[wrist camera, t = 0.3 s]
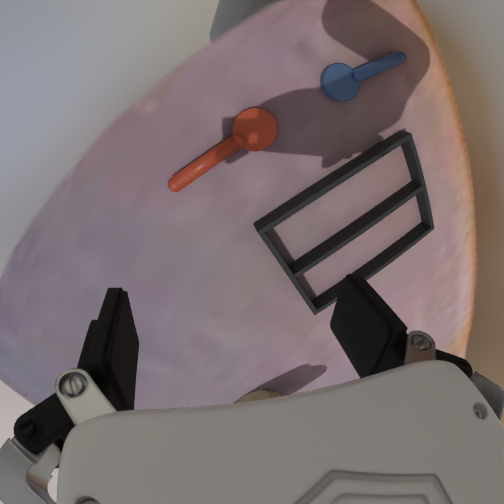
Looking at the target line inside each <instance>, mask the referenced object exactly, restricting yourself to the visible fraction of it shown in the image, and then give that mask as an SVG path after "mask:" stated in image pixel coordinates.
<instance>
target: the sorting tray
mask: <svg viewBox="0 0 504 504" xmlns="http://www.w3.org/2000/svg"><path fill="white" fill-rule="evenodd" d="M400 145H401V146H402V149H403V153H404V156H405V159H406V162H407V165H408V169H409V172H410V176H411V179H412V181H411V182H409V183H408V184H407V185H405V186H404V187H402V188H401V189H400V190H398V191H397V192H395V193H394V194H393V195H391V196H390V197H388V198H387V199H385V200H384V201H383V202H381V203H380V204H378V205H377V206H375V207H374V208H373V209H371V210H370V211H368V212H367V213H365V214H364V215H362V216H361V217H359V218H358V219H357V220H355V221H354V222H352V223H351V224H349V225H348V226H346V227H345V228H343V229H342V230H340V231H339V232H337V233H336V234H334V235H333V236H332V237H330V238H329V239H327V240H326V241H324V242H323V243H321V244H320V245H318V246H317V247H315V248H314V249H312V250H311V251H309V252H308V253H306V254H304V255H303V256H301V257H300V258H298V259H297V260H295V261H294V262H292V263H291V264H289V265H287V263H286V262H285V260H284V259H283V257H282V256H281V254H280V253H279V251H278V250H277V248H276V247H275V245H274V244H273V242H272V241H271V239H270V238H269V236H268V235H267V233H266V232H267V231H269V230H270V229H272V228H273V227H275V226H276V225H278V224H279V223H281V222H282V221H284V220H286V219H287V218H289V217H290V216H292V215H293V214H295V213H296V212H298V211H299V210H301V209H302V208H304V207H305V206H307V205H308V204H310V203H312V202H313V201H315V200H316V199H318V198H319V197H321V196H322V195H324V194H325V193H327V192H328V191H330V190H332V189H333V188H335V187H336V186H338V185H339V184H341V183H342V182H344V181H345V180H347V179H349V178H350V177H352V176H353V175H355V174H356V173H358V172H359V171H361V170H362V169H364V168H366V167H367V166H369V165H370V164H372V163H373V162H375V161H376V160H378V159H380V158H381V157H383V156H384V155H386V154H387V153H389V152H391V151H392V150H394V149H395V148H397V147H398V146H400ZM415 195H416V198H417V202H418V206H419V211H420V215H421V220H422V222H421V223H420V224H418V225H417V226H416V227H414V228H413V229H412V230H411V231H409V232H408V233H407V234H405V235H404V236H403V237H401V238H400V239H399V240H397V241H396V242H395V243H393V244H392V245H391V246H389V247H388V248H387V249H385V250H384V251H383V252H381V253H380V254H379V255H377V256H376V257H374V258H373V259H372V260H370V261H369V262H367V263H366V264H365V265H363V266H362V267H360V268H359V269H357V270H356V271H355V272H353V273H352V274H360V275H361V276H362V277H363V278H364V279H365V280H368V279H369V278H371V277H372V276H373V275H375V274H376V273H378V272H379V271H380V270H382V269H383V268H384V267H386V266H387V265H388V264H390V263H391V262H393V261H394V260H395V259H396V258H398V257H399V256H400V255H402V254H403V253H404V252H406V251H407V250H408V249H410V248H411V247H412V246H413V245H415V244H416V243H417V242H418V241H420V240H421V239H422V238H423V237H425V236H426V235H427V234H428V233H430V232H431V231H432V230H433V229H434V224H433V218H432V213H431V208H430V203H429V198H428V193H427V189H426V184H425V180H424V176H423V172H422V169H421V165H420V161H419V158H418V154H417V151H416V147H415V144H414V141H413V138H412V135H411V133H409V132H404V131H398V132H396V133H395V134H393V135H391V136H390V137H388V138H387V139H385V140H383V141H382V142H380V143H378V144H377V145H375V146H373V147H372V148H370V149H369V150H367V151H365V152H364V153H362V154H361V155H359V156H357V157H356V158H354V159H353V160H351V161H349V162H348V163H346V164H345V165H343V166H341V167H340V168H338V169H337V170H335V171H333V172H332V173H330V174H329V175H327V176H326V177H324V178H322V179H321V180H319V181H318V182H316V183H315V184H313V185H311V186H310V187H308V188H307V189H305V190H304V191H302V192H301V193H299V194H298V195H296V196H294V197H293V198H291V199H290V200H288V201H287V202H285V203H284V204H282V205H281V206H279V207H278V208H276V209H274V210H273V211H271V212H270V213H268V214H267V215H265V216H264V217H262V218H261V219H259V220H258V221H256V222H255V223H253V225H254V226H255V228H256V230H257V232H258V233H259V235H260V236H261V238H262V239H263V241H264V242H265V243H266V245H267V246H268V248H269V249H270V251H271V252H272V254H273V255H274V256H275V258H276V259H277V261H278V262H279V264H280V265H281V267H282V268H283V270H284V271H285V273H286V274H287V275H288V277H289V278H290V280H291V281H292V283H293V284H294V286H295V287H296V289H297V290H298V292H299V293H300V295H301V296H302V298H303V299H304V300H305V302H306V303H307V305H308V306H309V308H310V309H311V311H312V312H313V314H314V315H316V314H317V313H319V312H320V311H322V310H324V309H325V308H327V307H328V306H330V305H331V304H333V303H334V302H336V301H337V298H338V294H339V291H340V287H341V283H342V280H341V281H340V282H338V283H337V284H336V285H334V286H333V287H331V288H330V289H328V290H326V291H325V292H323V293H322V294H320V295H319V296H317V297H316V298H314V299H313V300H310V298H309V296H308V295H307V293H306V292H305V290H304V289H303V287H302V286H301V284H300V283H299V281H298V280H297V277H298V276H300V275H301V274H303V273H305V272H306V271H308V270H309V269H311V268H312V267H314V266H315V265H317V264H318V263H320V262H321V261H323V260H324V259H326V258H327V257H329V256H330V255H332V254H333V253H335V252H336V251H338V250H339V249H340V248H342V247H343V246H345V245H346V244H348V243H349V242H351V241H352V240H354V239H355V238H357V237H358V236H359V235H361V234H362V233H364V232H365V231H367V230H368V229H369V228H371V227H372V226H374V225H375V224H376V223H378V222H379V221H381V220H382V219H383V218H385V217H386V216H388V215H389V214H390V213H392V212H393V211H395V210H396V209H397V208H399V207H400V206H401V205H403V204H404V203H406V202H407V201H408V200H410V199H411V198H412V197H414V196H415Z"/></svg>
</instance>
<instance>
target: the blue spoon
mask: <svg viewBox="0 0 504 504" xmlns="http://www.w3.org/2000/svg"><path fill="white" fill-rule="evenodd" d="M405 61H406V55H405V54H404V53H403V52H400V51H398V52H395V53H390V54H389V55H387V56H384V57H382V58H379V59H377V60H375V61H372V62H370V63H367V64H365V65H363V66H360V67H358V68H356V69H354V70H353V69H352V68H351V67H350V66H348V65H346V64H343V63H335V64H331V65H329V66H327V67H326V68H325V69H324V70H323V71H322V73H321V77H320V82H321V87H322V89H323V91H324V92H325V94H326V95H327V96H328V97H330V98H331V99H333V100H336V101H349V100H351V99H353V98H354V97H355V96H356V95H357V93H358V91H359V87H360V82H359V81H363V80H365V79H367V78H369V77H372V76H374V75H376V74H378V73H380V72H383V71H385V70H387V69H389V68H392V67H394V66H396V65H399V64H401V63H404V62H405Z"/></svg>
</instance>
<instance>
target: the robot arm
mask: <svg viewBox="0 0 504 504" xmlns="http://www.w3.org/2000/svg"><path fill="white" fill-rule="evenodd" d="M330 327H331V330H332V332H333V333H334V335H335V336H336V338H337V340H338V341H339V343H340V345H341V346H342V348H343V350H344V351H345V353H346V355H347V356H348V358H349V360H350V361H351V363H352V365H353V366H354V368H355V370H356V371H357V373H358V375H359V376H360V379H357V380H353V381H349V382H345V383H341V384H337V385H333V386H329V387H325V388H321V389H316V390H312V391H307V392H302V393H297V394H292V395H287V396H281V397H275V398H269V399H263V400H256V401H249V402H241V403H233V404H224V405H213V406H201V407H187V408H169V409H144V410H134V400H135V384H136V372H137V361H138V351H139V340H138V336H137V332H136V328H135V324H134V320H133V316H132V311H131V307H130V302H129V298H128V293H127V291H123V289H122V288H108V290H107V293H106V296H105V299H104V302H103V305H102V308H101V311H100V314H99V317H98V320H92V321H91V323H90V326H89V329H88V332H87V335H86V338H85V342H84V345H83V349H82V352H81V356H80V359H79V363H78V367H77V368H72V369H68V370H65V371H64V372H62V373H61V374H60V375H59V376H58V377H57V379H56V382H55V391H56V393H54V394H53V395H51V396H50V397H48V398H47V399H45V400H44V401H42V402H41V403H39V404H38V405H36V406H35V407H33V408H32V409H30V410H29V411H27V412H26V413H24V414H23V415H21V416H20V417H19V418H18V419H17V421H16V423H15V425H14V435H15V436H14V437H13V438H12V440H11V439H10V438H9V439H8V440H7V441H6V442H5V443H4V445H3V446H2V447H1V449H0V500H1V501H2V502H3V503H4V504H504V427H503V425H502V423H501V422H500V419H501V416H502V412H503V408H504V390H503V389H502V388H501V387H499V386H498V385H497V384H495V383H493V382H492V381H490V380H488V379H487V378H485V377H484V376H482V375H480V374H479V373H477V372H476V371H475V372H474V373H472V372H473V371H472V368H471V365H470V364H469V363H468V362H467V361H466V360H465V359H463V358H460V357H457V356H455V355H452V354H449V353H446V352H443V351H440V350H437V349H435V342H434V340H433V339H432V338H431V337H430V336H429V335H428V334H426V333H424V332H422V331H412V332H410V333H409V334H407V333H406V331H407V329H408V328H407V327H406V325H405V324H404V323H403V322H402V321H401V320H400V318H399V317H398V316H397V315H396V314H395V313H394V311H393V310H392V309H391V308H390V307H389V306H388V305H387V303H386V302H385V301H384V300H383V299H382V298H381V297H380V296H379V295H378V293H377V292H376V291H375V290H374V289H373V288H372V287H371V286H370V285H369V283H368V282H367V281H366V280H365V279H364V278H363V277H362V276H361V275H360V274H348V275H346V277H345V278H344V279H343V280H342V283H341V287H340V291H339V294H338V298H337V302H336V305H335V309H334V312H333V315H332V319H331V322H330ZM55 468H59V472H58V483H57V484H58V485H57V503H56V502H54V501H53V500H52V498H51V497H50V496H49V493H48V490H47V485H48V483H49V481H50V479H51V478H52V475H51V473H52V472H53V470H54V469H55ZM95 500H96V501H95Z"/></svg>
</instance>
